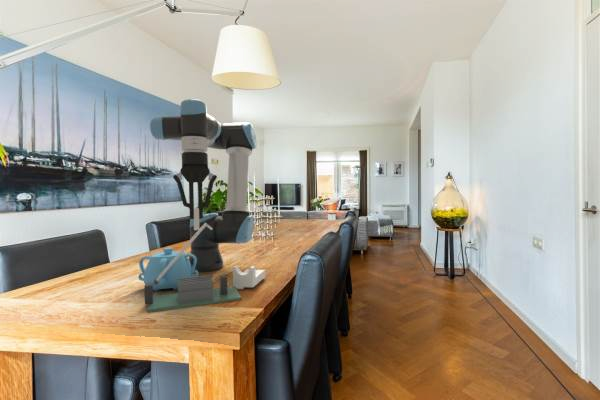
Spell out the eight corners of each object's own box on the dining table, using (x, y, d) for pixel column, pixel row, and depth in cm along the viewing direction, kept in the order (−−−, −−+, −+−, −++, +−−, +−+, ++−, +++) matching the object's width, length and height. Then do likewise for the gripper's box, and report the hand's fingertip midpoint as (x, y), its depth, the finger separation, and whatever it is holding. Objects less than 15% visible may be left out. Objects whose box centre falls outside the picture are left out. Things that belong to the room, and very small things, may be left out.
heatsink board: (147, 299, 101) (146, 279, 101) (234, 288, 110) (234, 270, 110) (143, 313, 90) (142, 290, 90) (241, 299, 99) (240, 279, 99)
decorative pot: (180, 277, 126) (178, 242, 125) (202, 285, 115) (201, 246, 115) (136, 287, 114) (134, 249, 113) (156, 297, 103) (154, 254, 103)
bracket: (253, 290, 109) (252, 267, 109) (233, 289, 111) (232, 267, 110) (265, 279, 122) (264, 259, 122) (247, 278, 123) (246, 258, 123)
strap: (161, 285, 98) (153, 280, 97) (211, 227, 103) (204, 221, 102) (161, 288, 95) (152, 282, 94) (212, 228, 100) (205, 222, 99)
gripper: (171, 150, 93) (173, 232, 94) (218, 151, 98) (219, 229, 98) (171, 153, 100) (174, 229, 101) (215, 154, 105) (217, 227, 105)
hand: (196, 229), depth 100 cm, fingers closed
